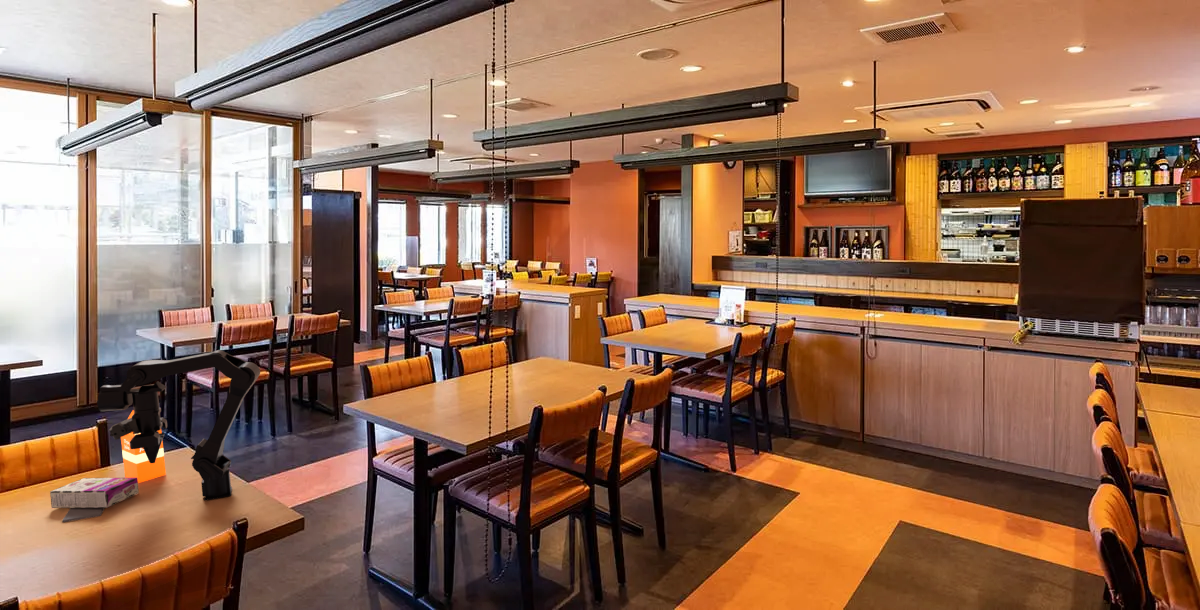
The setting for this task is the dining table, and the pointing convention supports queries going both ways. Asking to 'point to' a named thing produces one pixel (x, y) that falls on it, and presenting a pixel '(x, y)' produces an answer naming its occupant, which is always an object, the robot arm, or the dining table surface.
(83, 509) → the mat
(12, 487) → the dining table surface
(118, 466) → the dining table surface
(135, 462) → the orange juice
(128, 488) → the candy bar box
